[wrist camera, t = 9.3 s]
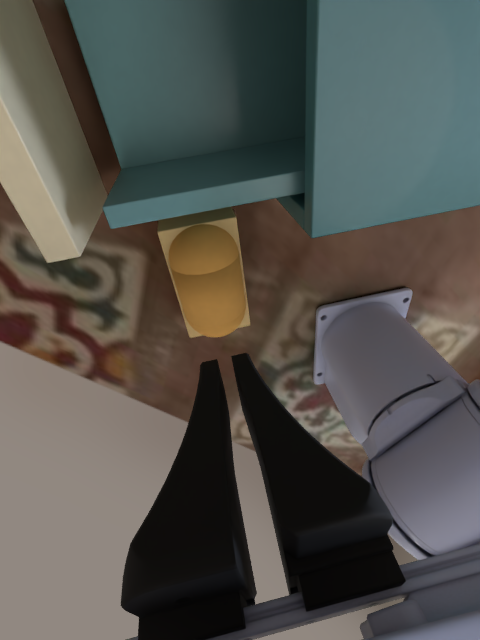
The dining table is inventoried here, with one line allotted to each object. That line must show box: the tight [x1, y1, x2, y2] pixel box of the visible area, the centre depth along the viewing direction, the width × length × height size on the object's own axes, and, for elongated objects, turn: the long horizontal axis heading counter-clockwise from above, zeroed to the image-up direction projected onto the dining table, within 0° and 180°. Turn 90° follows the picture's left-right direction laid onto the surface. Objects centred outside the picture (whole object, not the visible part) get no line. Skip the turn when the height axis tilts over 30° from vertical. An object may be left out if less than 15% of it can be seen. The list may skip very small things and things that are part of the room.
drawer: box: [0, 0, 307, 263], centre depth 10 cm, size 19×12×7 cm, turn 97°
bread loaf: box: [157, 207, 250, 338], centre depth 19 cm, size 8×4×4 cm, turn 7°
